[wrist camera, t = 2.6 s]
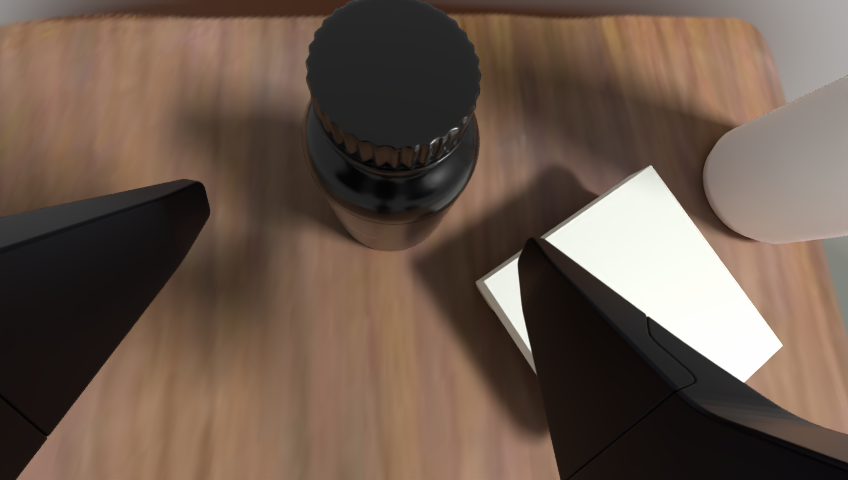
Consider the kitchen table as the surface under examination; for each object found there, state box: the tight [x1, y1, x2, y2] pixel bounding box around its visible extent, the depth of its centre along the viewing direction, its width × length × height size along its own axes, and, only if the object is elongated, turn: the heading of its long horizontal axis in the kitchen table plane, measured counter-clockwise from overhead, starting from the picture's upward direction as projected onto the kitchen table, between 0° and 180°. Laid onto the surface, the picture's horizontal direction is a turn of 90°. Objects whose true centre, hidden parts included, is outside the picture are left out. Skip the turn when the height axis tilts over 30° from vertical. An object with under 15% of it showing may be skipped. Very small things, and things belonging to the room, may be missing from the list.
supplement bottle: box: [302, 0, 481, 251], centre depth 14 cm, size 7×7×12 cm
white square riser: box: [476, 165, 783, 382], centre depth 19 cm, size 12×12×4 cm
